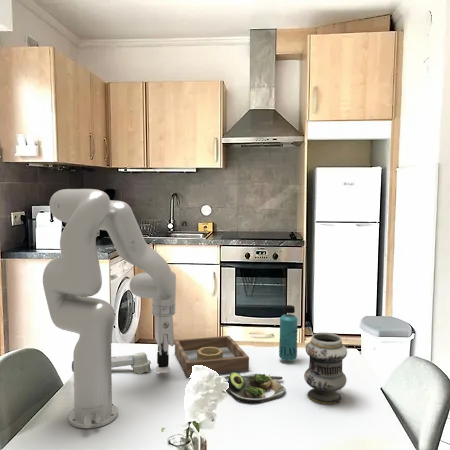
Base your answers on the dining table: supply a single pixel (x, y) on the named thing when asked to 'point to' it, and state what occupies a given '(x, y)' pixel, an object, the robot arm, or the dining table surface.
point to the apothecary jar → (325, 368)
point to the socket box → (211, 355)
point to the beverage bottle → (288, 334)
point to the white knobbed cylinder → (130, 362)
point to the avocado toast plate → (253, 387)
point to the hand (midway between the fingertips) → (162, 364)
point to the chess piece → (162, 369)
